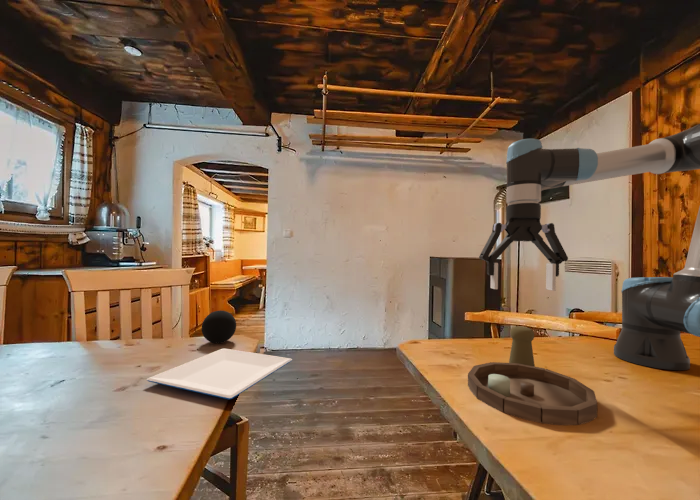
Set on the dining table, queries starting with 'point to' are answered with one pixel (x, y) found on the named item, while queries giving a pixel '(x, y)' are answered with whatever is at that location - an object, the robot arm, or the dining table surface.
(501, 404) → the tray
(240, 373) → the plate
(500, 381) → the pale beige rounded lump
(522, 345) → the olive green knobbed peg
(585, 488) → the dining table surface
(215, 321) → the decorative ball
